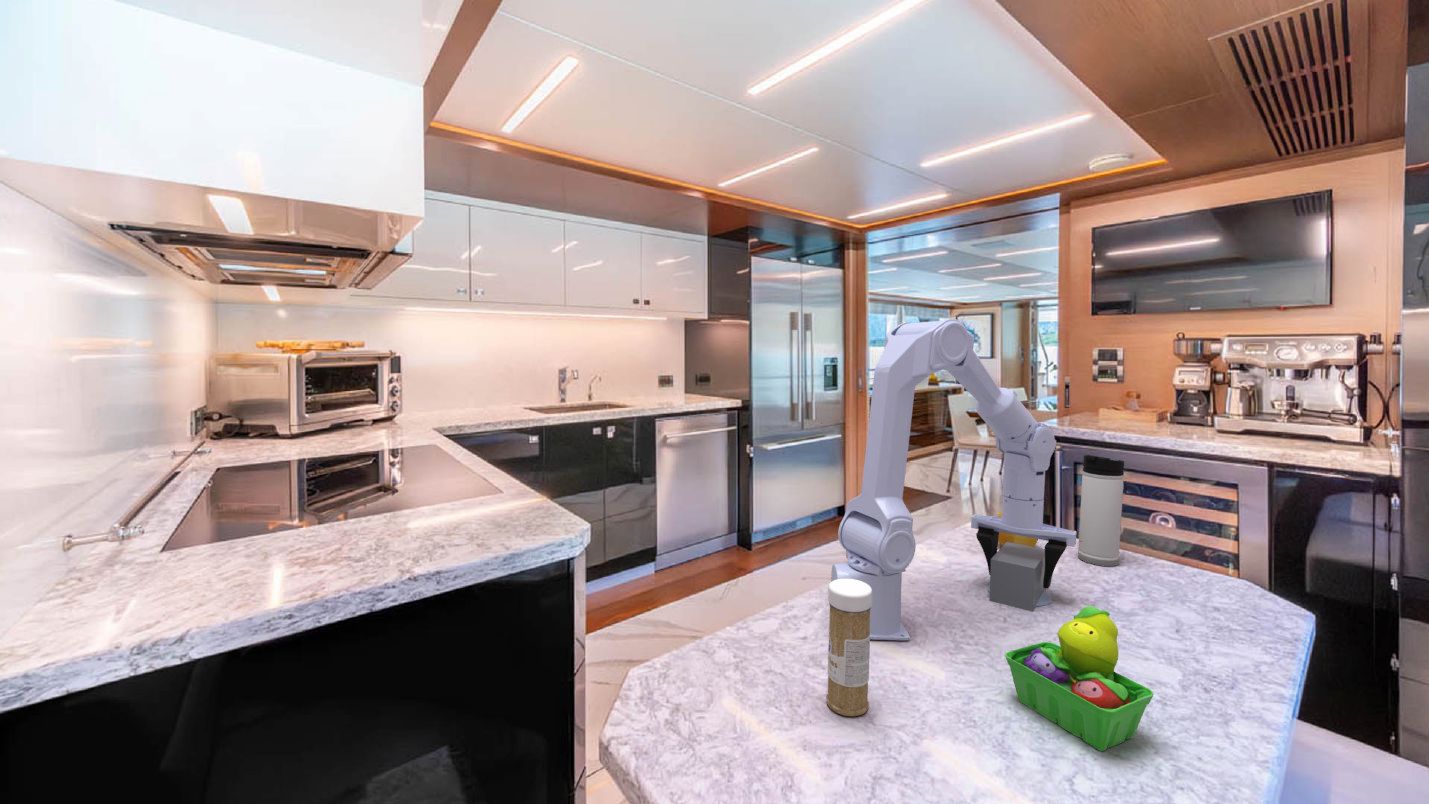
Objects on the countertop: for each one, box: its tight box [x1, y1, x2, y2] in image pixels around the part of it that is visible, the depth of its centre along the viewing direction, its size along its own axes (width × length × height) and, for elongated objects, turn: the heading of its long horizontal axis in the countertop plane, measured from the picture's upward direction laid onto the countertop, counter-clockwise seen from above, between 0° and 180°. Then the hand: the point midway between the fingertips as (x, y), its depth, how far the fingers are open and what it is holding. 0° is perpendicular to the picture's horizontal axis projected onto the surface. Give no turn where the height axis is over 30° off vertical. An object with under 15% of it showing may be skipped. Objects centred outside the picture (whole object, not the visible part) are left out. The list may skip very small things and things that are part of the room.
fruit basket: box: [1004, 605, 1154, 752], centre depth 58 cm, size 11×9×11 cm
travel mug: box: [1077, 454, 1125, 567], centre depth 102 cm, size 6×7×20 cm
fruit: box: [996, 510, 1039, 547], centre depth 109 cm, size 9×8×8 cm
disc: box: [986, 583, 1052, 607], centre depth 88 cm, size 9×9×1 cm
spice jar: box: [826, 579, 872, 717], centre depth 59 cm, size 5×5×14 cm
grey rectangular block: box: [988, 542, 1047, 612], centre depth 88 cm, size 11×6×7 cm, turn 140°
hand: (1019, 580), depth 88 cm, fingers open, 7 cm apart
